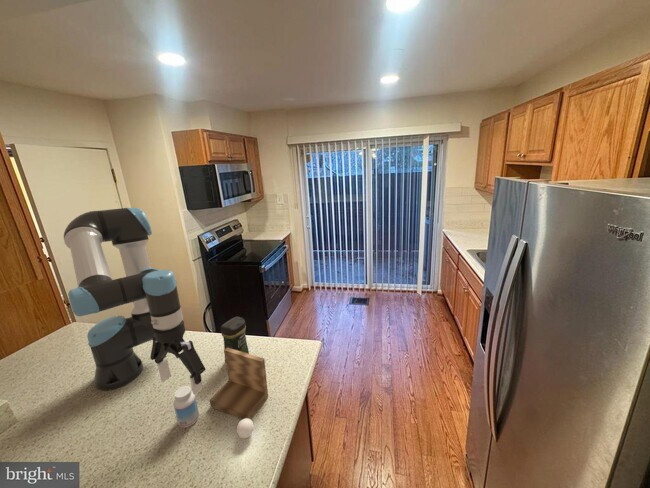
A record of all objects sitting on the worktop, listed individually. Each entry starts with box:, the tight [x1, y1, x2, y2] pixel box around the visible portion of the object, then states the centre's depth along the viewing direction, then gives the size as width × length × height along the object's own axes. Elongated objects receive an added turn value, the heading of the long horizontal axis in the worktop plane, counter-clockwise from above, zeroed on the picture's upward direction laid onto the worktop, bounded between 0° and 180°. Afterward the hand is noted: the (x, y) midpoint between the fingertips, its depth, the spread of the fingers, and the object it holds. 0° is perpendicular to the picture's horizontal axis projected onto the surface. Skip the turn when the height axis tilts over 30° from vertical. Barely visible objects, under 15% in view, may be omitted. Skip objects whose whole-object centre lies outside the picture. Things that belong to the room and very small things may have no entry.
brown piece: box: [209, 348, 269, 421], centre depth 88 cm, size 16×11×16 cm, turn 67°
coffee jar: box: [220, 316, 250, 364], centre depth 108 cm, size 10×8×19 cm
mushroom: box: [236, 418, 255, 439], centre depth 78 cm, size 5×5×5 cm
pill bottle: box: [173, 385, 200, 428], centre depth 82 cm, size 6×6×11 cm
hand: (181, 384), depth 80 cm, fingers open, 13 cm apart
